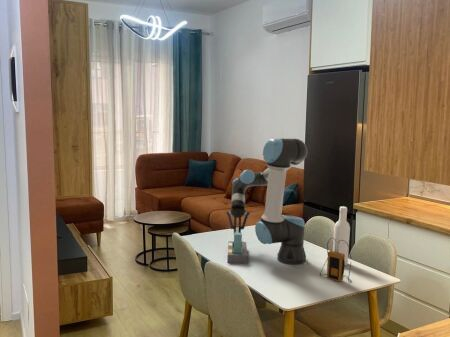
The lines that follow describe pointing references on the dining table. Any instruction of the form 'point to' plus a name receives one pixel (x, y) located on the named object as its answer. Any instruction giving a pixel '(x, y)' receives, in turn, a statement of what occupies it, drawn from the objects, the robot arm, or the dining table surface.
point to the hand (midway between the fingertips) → (237, 239)
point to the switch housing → (234, 257)
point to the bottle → (342, 234)
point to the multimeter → (335, 264)
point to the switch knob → (237, 243)
